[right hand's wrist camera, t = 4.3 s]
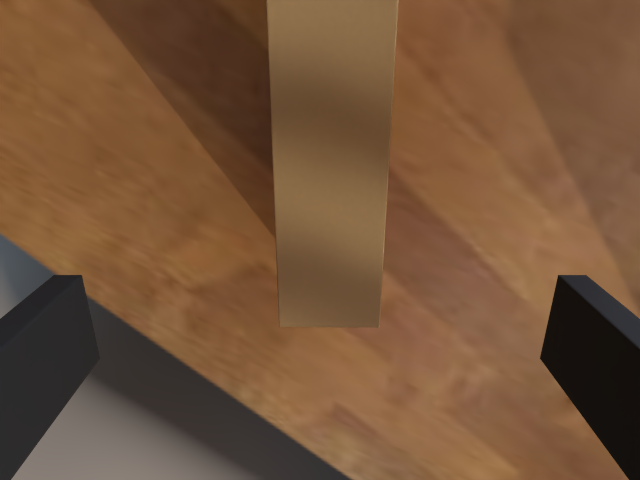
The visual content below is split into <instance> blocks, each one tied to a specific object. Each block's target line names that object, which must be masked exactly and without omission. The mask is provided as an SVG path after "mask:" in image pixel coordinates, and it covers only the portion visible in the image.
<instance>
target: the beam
mask: <svg viewBox="0 0 640 480" xmlns="http://www.w3.org/2000/svg"><path fill="white" fill-rule="evenodd" d="M266 7H267V32H268V57H269V82H270V108H271V133H272V158H273V183H274V209H275V234H276V259H277V284H278V309H279V326H280V327H371V328H379V327H380V311H381V293H382V276H383V259H384V242H385V224H386V207H387V190H388V172H389V155H390V138H391V121H392V103H393V86H394V69H395V51H396V34H397V17H398V0H266Z"/></svg>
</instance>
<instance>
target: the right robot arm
mask: <svg viewBox="0 0 640 480" xmlns="http://www.w3.org/2000/svg"><path fill="white" fill-rule="evenodd" d="M99 359H100V357H99V352H98V347H97V343H96V338H95V334H94V329H93V325H92V320H91V315H90V311H89V306H88V302H87V297H86V293H85V288H84V283H83V279H82V275H54V276H52V277H51V278H50V279H49V280H48V281H46V282H45V283H44V284H43V285H41V286H40V287H39V288H38V289H36V290H35V291H34V292H33V293H32V294H30V295H29V296H28V297H27V298H25V299H24V300H23V301H22V302H21V303H19V304H18V305H17V306H16V307H14V308H13V309H12V310H11V311H9V312H8V313H7V314H6V315H5V316H3V317H2V318H1V319H0V480H11V479H12V477H13V476H14V475H15V473H16V472H17V471H18V469H19V468H20V466H21V465H22V464H23V462H24V461H25V460H26V458H27V457H28V456H29V454H30V453H31V452H32V450H33V449H34V447H35V446H36V445H37V443H38V442H39V441H40V439H41V438H42V437H43V435H44V434H45V432H46V431H47V430H48V428H49V427H50V426H51V424H52V423H53V422H54V420H55V419H56V417H57V416H58V415H59V413H60V412H61V411H62V409H63V408H64V407H65V405H66V404H67V402H68V401H69V400H70V398H71V397H72V396H73V394H74V393H75V392H76V390H77V389H78V387H79V386H80V385H81V383H82V382H83V381H84V379H85V378H86V377H87V375H88V374H89V372H90V371H91V370H92V368H93V367H94V366H95V364H96V363H97V362H98V360H99ZM540 359H541V360H542V362H543V363H544V364H545V366H546V367H547V368H548V370H549V371H550V373H551V374H552V375H553V377H554V378H555V379H556V381H557V382H558V383H559V385H560V386H561V388H562V389H563V390H564V392H565V393H566V394H567V396H568V397H569V398H570V400H571V401H572V403H573V404H574V405H575V407H576V408H577V409H578V411H579V412H580V413H581V415H582V416H583V418H584V419H585V420H586V422H587V423H588V424H589V426H590V427H591V428H592V430H593V431H594V432H595V434H596V435H597V437H598V438H599V439H600V441H601V442H602V443H603V445H604V446H605V447H606V449H607V450H608V452H609V453H610V454H611V456H612V457H613V458H614V460H615V461H616V462H617V464H618V465H619V467H620V468H621V469H622V471H623V472H624V473H625V475H626V476H627V477H628V479H629V480H640V319H639V318H638V317H637V316H635V315H634V314H633V313H632V312H631V311H629V310H628V309H627V308H626V307H624V306H623V305H622V304H621V303H620V302H618V301H617V300H616V299H615V298H613V297H612V296H611V295H610V294H609V293H607V292H606V291H605V290H604V289H602V288H601V287H600V286H599V285H597V284H596V283H595V282H594V281H593V280H591V279H590V278H589V277H588V276H586V275H558V279H557V283H556V288H555V293H554V297H553V302H552V306H551V311H550V315H549V320H548V325H547V329H546V334H545V338H544V343H543V347H542V352H541V357H540Z"/></svg>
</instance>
